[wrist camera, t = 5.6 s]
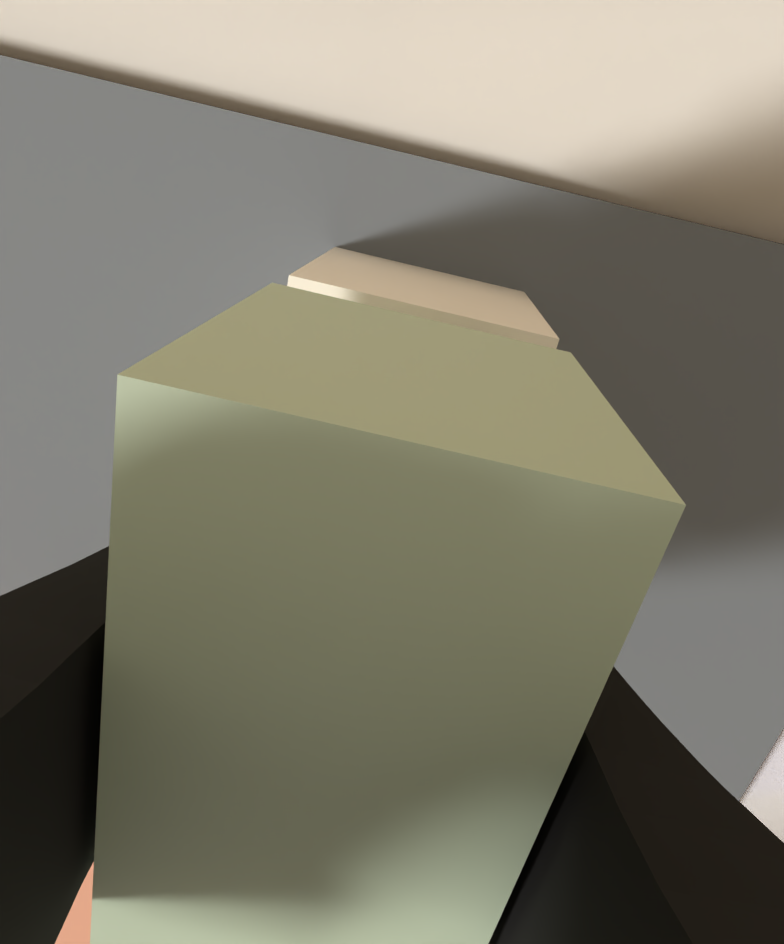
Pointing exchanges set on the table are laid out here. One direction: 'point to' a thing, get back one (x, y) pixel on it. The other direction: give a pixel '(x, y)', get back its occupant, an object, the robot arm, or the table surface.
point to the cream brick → (425, 294)
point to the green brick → (353, 622)
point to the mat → (419, 244)
